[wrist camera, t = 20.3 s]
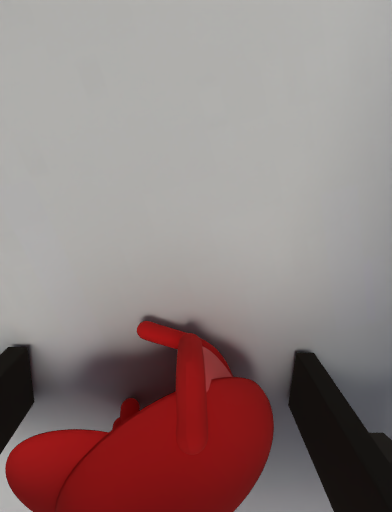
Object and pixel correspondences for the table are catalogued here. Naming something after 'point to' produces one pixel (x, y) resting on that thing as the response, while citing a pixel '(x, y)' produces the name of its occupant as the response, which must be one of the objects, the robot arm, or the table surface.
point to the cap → (156, 445)
